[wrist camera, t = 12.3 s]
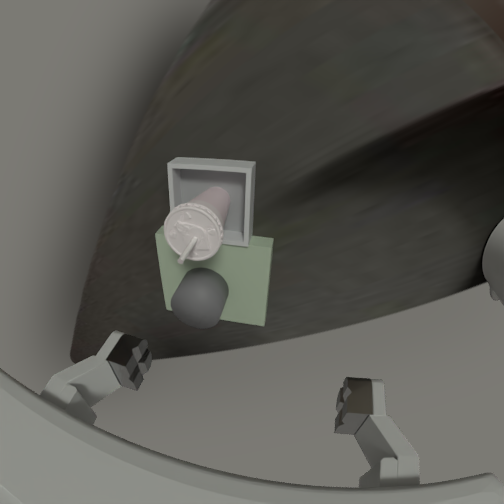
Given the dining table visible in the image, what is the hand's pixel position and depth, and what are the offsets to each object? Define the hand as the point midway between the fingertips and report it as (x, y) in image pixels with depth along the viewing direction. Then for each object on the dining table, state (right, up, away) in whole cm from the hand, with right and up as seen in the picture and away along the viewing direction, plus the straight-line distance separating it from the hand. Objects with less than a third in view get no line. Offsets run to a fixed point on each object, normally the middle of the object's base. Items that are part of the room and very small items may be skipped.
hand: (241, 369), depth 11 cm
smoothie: (-4, +11, +28) cm, 30 cm away
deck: (-5, +6, +31) cm, 32 cm away
